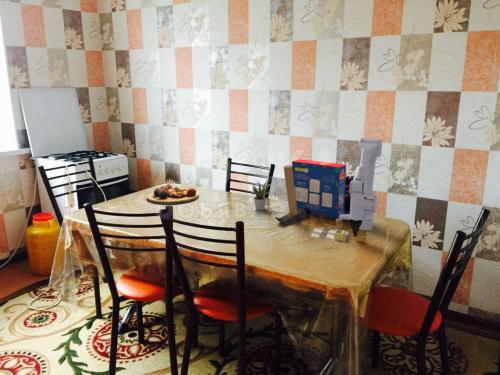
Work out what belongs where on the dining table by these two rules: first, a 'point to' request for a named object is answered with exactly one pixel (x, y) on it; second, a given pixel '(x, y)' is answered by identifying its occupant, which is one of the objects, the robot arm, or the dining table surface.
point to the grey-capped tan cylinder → (338, 224)
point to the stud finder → (339, 234)
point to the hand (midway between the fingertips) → (355, 235)
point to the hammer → (292, 200)
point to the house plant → (260, 196)
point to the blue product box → (320, 187)
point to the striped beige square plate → (326, 233)
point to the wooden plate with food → (172, 195)
